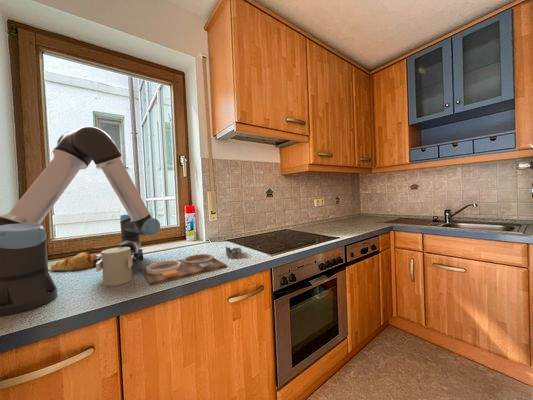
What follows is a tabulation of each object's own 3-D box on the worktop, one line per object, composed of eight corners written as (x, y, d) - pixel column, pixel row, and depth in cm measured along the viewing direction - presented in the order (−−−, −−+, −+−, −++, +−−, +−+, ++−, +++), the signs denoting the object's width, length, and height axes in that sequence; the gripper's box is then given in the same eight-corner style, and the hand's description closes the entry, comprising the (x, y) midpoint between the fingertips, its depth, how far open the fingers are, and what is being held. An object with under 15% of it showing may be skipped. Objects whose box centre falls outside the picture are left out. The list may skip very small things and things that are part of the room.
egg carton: (225, 253, 119) (225, 246, 119) (240, 252, 120) (240, 244, 120) (226, 259, 108) (226, 251, 108) (242, 258, 110) (242, 249, 110)
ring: (152, 280, 81) (152, 276, 81) (144, 268, 96) (144, 264, 96) (188, 272, 89) (188, 268, 89) (175, 261, 103) (175, 258, 103)
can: (137, 275, 90) (135, 245, 89) (123, 285, 81) (121, 251, 80) (113, 276, 90) (111, 246, 89) (96, 286, 80) (94, 252, 80)
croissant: (48, 281, 97) (42, 267, 93) (56, 264, 105) (51, 250, 101) (108, 271, 106) (105, 258, 102) (111, 256, 113) (109, 243, 110)
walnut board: (150, 285, 80) (149, 278, 80) (140, 269, 97) (140, 263, 97) (226, 266, 97) (226, 260, 97) (207, 256, 114) (206, 251, 114)
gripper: (154, 256, 106) (149, 271, 85) (98, 262, 98) (76, 281, 77) (153, 239, 105) (147, 251, 84) (97, 244, 98) (74, 259, 77)
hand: (113, 265), depth 81 cm, fingers closed on can, 9 cm apart
